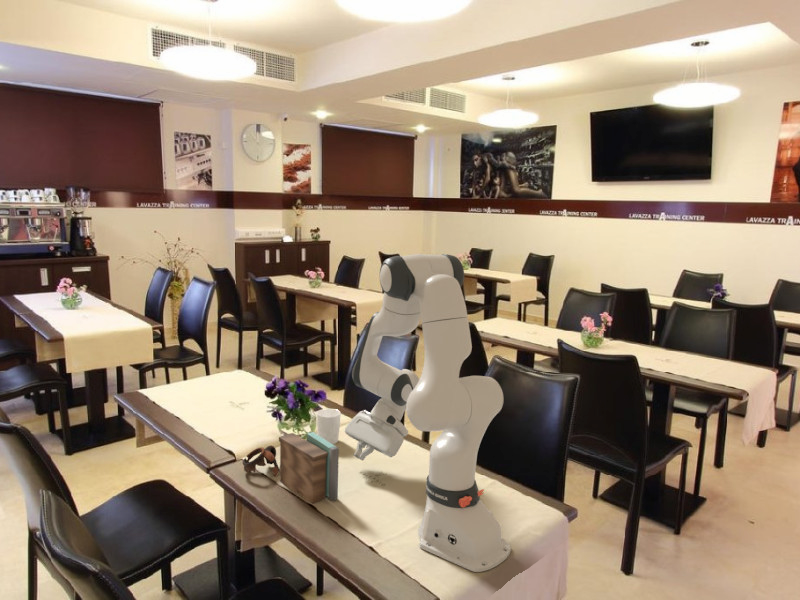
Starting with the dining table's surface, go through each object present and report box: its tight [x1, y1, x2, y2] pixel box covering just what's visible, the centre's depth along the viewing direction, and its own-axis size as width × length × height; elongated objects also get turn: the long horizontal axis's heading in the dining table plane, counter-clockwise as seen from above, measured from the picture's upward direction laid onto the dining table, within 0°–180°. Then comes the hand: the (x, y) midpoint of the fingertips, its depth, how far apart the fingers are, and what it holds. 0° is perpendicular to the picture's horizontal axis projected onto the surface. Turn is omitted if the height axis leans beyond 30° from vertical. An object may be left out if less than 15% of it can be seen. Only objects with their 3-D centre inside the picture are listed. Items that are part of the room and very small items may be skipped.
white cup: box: [316, 408, 342, 445], centre depth 185 cm, size 8×8×10 cm
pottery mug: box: [242, 445, 280, 477], centre depth 163 cm, size 12×10×8 cm
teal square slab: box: [306, 431, 340, 501], centre depth 152 cm, size 14×2×14 cm, turn 40°
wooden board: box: [278, 432, 328, 504], centre depth 152 cm, size 17×5×13 cm, turn 44°
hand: (358, 458), depth 162 cm, fingers closed
